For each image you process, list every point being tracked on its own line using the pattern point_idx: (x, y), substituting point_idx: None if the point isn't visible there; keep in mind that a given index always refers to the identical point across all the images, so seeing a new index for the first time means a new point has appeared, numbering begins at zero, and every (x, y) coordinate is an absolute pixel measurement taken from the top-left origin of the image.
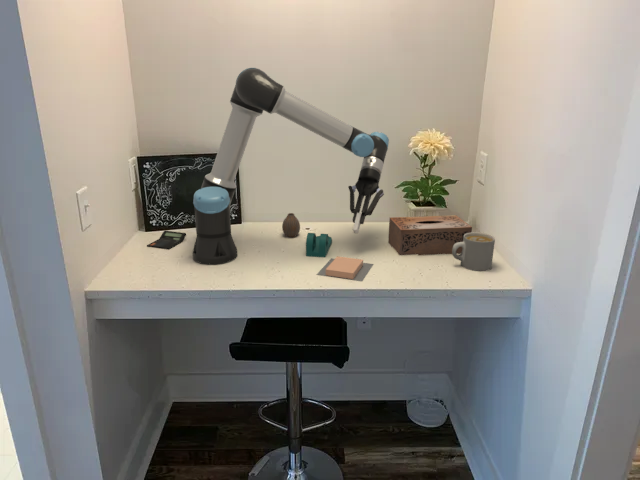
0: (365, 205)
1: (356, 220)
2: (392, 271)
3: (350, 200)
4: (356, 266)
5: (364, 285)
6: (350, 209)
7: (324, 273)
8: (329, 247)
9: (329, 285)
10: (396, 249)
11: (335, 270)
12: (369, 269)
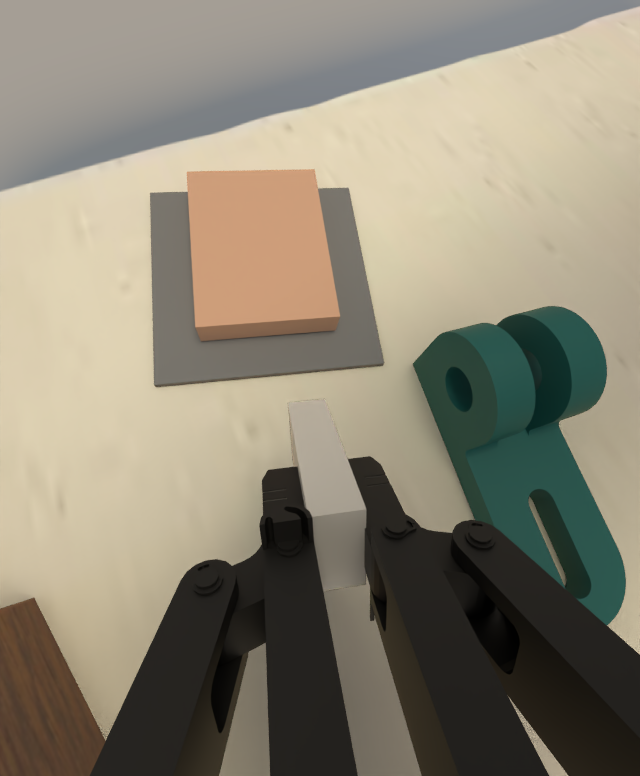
0: (289, 653)
1: (327, 446)
2: (39, 353)
3: (635, 663)
4: (198, 238)
5: (135, 180)
6: (483, 525)
7: (325, 207)
8: (469, 493)
9: (263, 141)
10: (53, 668)
11: (270, 171)
12: (156, 313)
